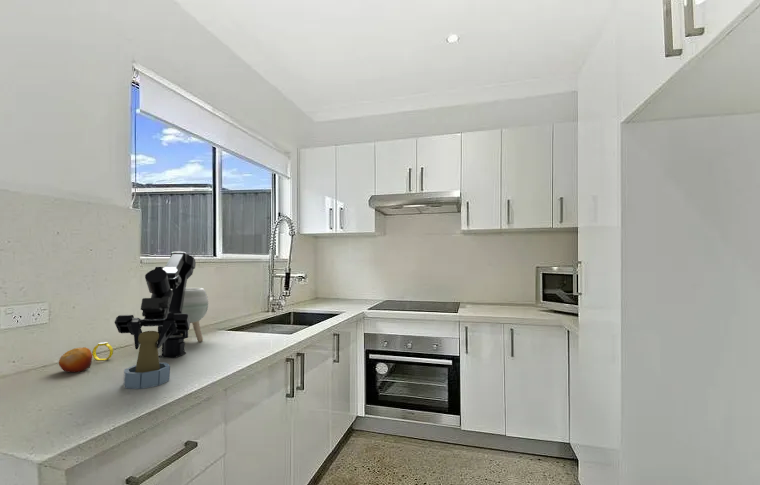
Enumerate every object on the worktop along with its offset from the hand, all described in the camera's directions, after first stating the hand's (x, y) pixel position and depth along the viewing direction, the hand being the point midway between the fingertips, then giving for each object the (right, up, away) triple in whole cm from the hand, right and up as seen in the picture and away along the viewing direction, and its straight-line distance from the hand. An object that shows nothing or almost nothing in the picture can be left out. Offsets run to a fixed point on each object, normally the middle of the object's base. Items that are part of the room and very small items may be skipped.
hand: (147, 348), depth 102 cm
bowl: (0, -10, +1) cm, 10 cm away
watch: (-30, -11, +22) cm, 39 cm away
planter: (-15, -12, +49) cm, 53 cm away
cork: (0, -7, +1) cm, 7 cm away
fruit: (-29, -10, +10) cm, 32 cm away
